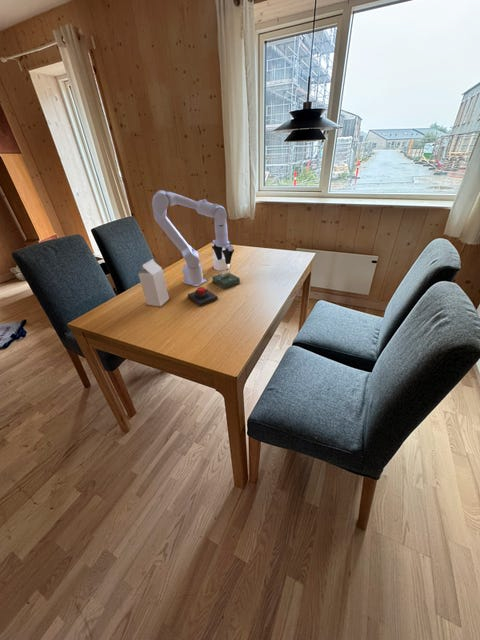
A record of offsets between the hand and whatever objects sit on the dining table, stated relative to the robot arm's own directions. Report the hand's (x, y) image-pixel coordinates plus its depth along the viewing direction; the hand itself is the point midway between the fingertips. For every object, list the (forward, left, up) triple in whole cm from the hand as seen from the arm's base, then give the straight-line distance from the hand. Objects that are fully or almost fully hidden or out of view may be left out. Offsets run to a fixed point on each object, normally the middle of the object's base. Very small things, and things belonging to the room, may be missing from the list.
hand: (223, 261), depth 131 cm
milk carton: (-13, -34, -10) cm, 38 cm away
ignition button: (+3, -22, -6) cm, 23 cm away
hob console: (+3, -3, -9) cm, 10 cm away
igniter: (+3, -22, -9) cm, 24 cm away
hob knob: (+3, -3, -6) cm, 8 cm away
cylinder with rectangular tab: (-11, +12, -10) cm, 19 cm away
